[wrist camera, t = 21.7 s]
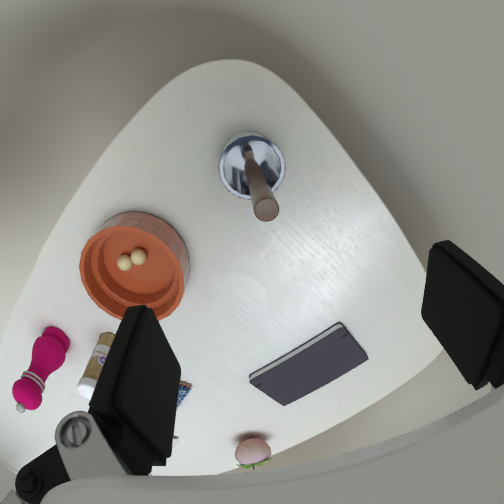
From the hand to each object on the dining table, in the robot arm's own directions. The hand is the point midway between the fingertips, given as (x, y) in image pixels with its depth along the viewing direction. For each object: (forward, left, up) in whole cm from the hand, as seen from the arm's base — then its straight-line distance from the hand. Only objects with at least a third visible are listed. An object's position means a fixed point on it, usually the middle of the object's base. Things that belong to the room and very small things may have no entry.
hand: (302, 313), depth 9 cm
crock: (0, 0, -32) cm, 32 cm away
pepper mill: (+24, -45, -32) cm, 60 cm away
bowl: (+11, -19, -32) cm, 39 cm away
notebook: (+41, +4, -32) cm, 52 cm away
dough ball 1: (+11, -21, -29) cm, 38 cm away
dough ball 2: (+11, -19, -30) cm, 37 cm away
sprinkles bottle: (+26, -32, -32) cm, 52 cm away
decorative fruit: (+67, -13, -32) cm, 76 cm away
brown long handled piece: (0, 0, -32) cm, 32 cm away
